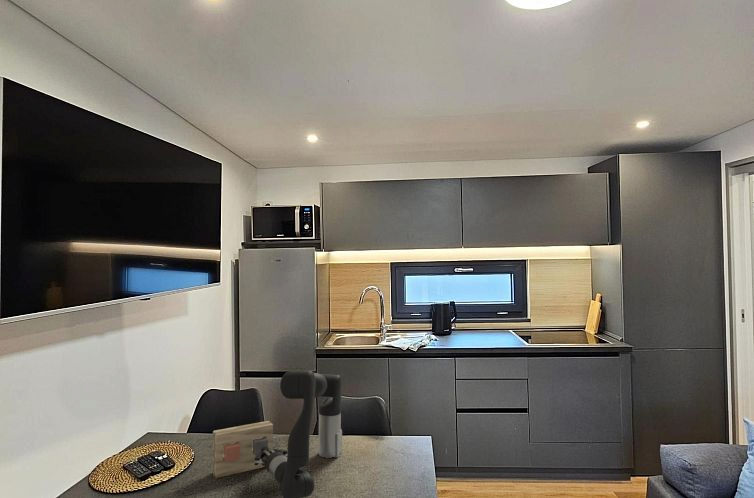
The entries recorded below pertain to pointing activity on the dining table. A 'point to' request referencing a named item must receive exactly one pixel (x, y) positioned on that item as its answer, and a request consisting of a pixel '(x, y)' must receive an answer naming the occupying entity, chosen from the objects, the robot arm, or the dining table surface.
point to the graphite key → (259, 445)
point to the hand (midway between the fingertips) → (263, 449)
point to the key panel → (244, 439)
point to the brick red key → (231, 452)
